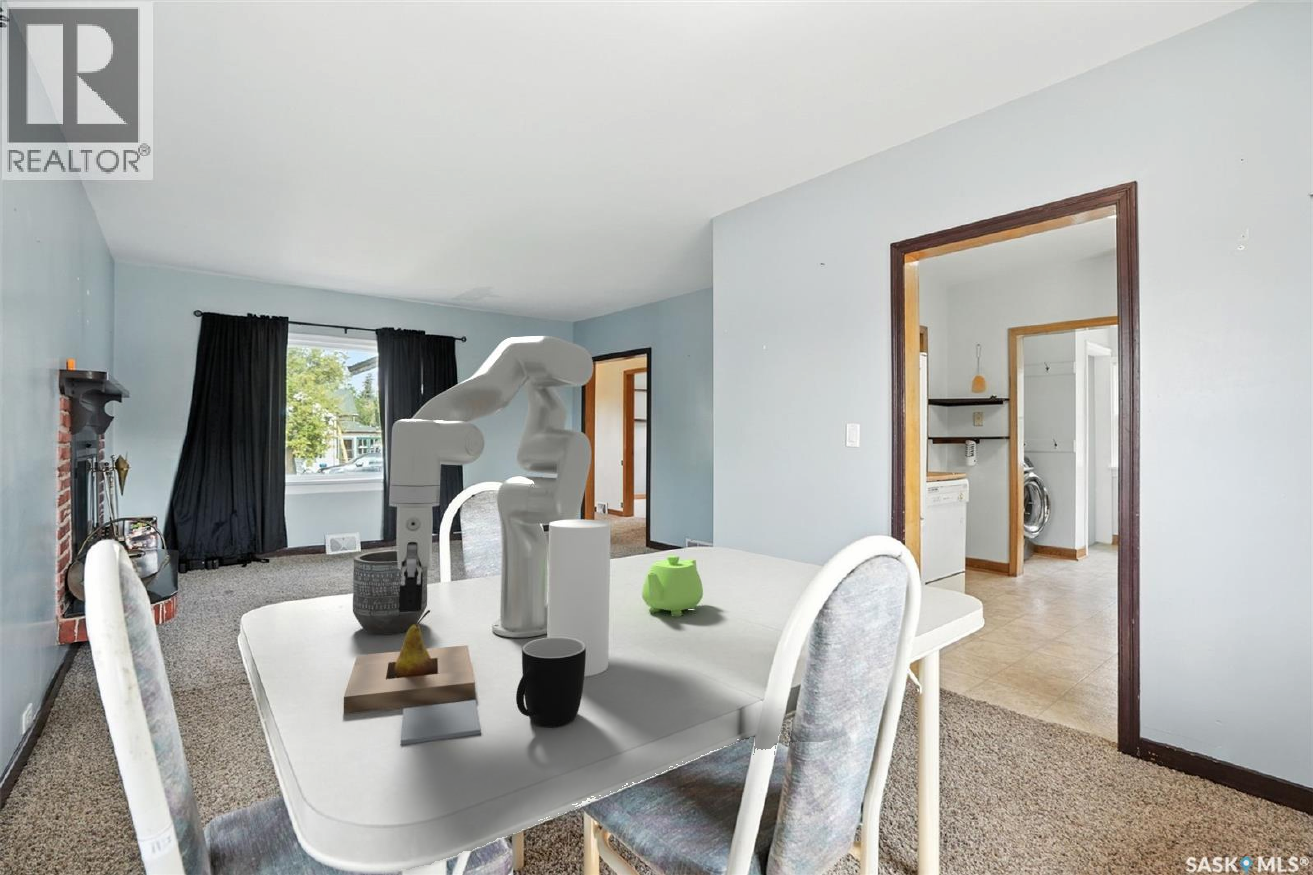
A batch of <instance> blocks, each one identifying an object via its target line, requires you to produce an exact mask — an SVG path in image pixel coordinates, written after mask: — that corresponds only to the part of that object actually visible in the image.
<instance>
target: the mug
mask: <svg viewBox="0 0 1313 875" xmlns="http://www.w3.org/2000/svg"><path fill="white" fill-rule="evenodd" d="M585 660H586V647H585V644H584V643H583V642H581V641H579V640H576V639H572V638H565V637H550V638H547V637H543V638H542V637H541V638H539V639H534V640H531V641H528V642H527V643H525V644H524V645H523V647H522V650H521V665H522V666H521V668H522V677H521V678H520V680H519V682H518V685H517V688H516V689H517V690H516V694H515V696H516V697H515V699H516V700H515V701H516V702H515V703H516V706H517V709H518V711H519V712H520V713H521V714H522V715H524V716H525V717H529V720H530V721H531V722H532V723H533V724H534V725H536V726H538V727H544V728H557V727H563V726H566V725H568V724H570V723H572V722H573V721H574V720H575V718H576V717H577V715H578V713H579V710H580V706H581V703H582V702H581V701H582V696H583V689H584V682H585V677H584V674H585Z"/></svg>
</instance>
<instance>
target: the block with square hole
mask: <svg viewBox="0 0 1313 875" xmlns="http://www.w3.org/2000/svg"><path fill="white" fill-rule="evenodd" d="M426 649H427V651H428V653H429V655H430V658H431V662H432V668H431V672H430V674H429V675H423V676H414V677H404V678H396V676H395V664H396V661H397V659H398V657H399V655H400V652H401V650H400V651H390V652H389V651H388V652H380V653H379V652H378V653H368V654H358V655H356V657H355V661H354V664H353V667H352V670H351V673H350V676H349V679H348V682H347V686H346V689H345V691H344V695H343V715H348V714H349V715H350V714H357V713H369V712H374V711H375V712H376V711H384V710H389V709H390V710H391V709H399V708H400V709H401V708H411V707H419V706H427V705H436V704H444V703H453V702H461V701H469V700H476V699H475V698H476V697H475V696H476V694H475V692H476V691H475V689H476V688H475V687H476V682H475V676H474V670H473V666H472V660H471V655H470V649H469V645H468V644H467V645H456V646H446V647H445V646H443V647H434V648H426Z"/></svg>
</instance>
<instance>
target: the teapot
mask: <svg viewBox="0 0 1313 875" xmlns="http://www.w3.org/2000/svg"><path fill="white" fill-rule="evenodd" d="M666 557H667V559H665V560H659V561H656V562H654V563H652V564H651V567H650V568H649V570H648V572H647V575H646V576H645V579H644V582H643V586H642V592H641V593H642V594H641V595H642V599H643V601H644V602H645V605H646V606H648V607H650V608H649V610H648V612H651V613H658V612H660V611H661V610H665V611H671V614H670V616H672V615H673V616H672V617H675V616H679V617H681V616H680V615H682V616H683V612H682V611H683V610H685V609H696V606H697V605H699V603H700V602H701V600H702V598H703V595H704V589H703V584H702V580H701V576H700V574H699V572H698V568H697V561H696V559H693V558H688V559H686V560H680V555H679V556H678V555H668V556H666Z"/></svg>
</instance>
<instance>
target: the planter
mask: <svg viewBox="0 0 1313 875" xmlns="http://www.w3.org/2000/svg"><path fill="white" fill-rule="evenodd" d="M421 566H422V564H421ZM421 572H423V579H422V606H421V610H420V611H413V612H400V611H399V592H400V585H401V581H402V571H401V570H399V569H398V562H397V549H387V550H377V551H369V552H363V553H360V554H358V555H355V556H354V558H353V576H352V580H353V581H352V588H353V590H352V591H353V593H352V612H353V615H354V616H355V619H356V620H357V622H358V623H359V625H360V626H361V628H362V629H363V630H364V631H365V632H366V633H367V634H370V635H371V634H372V635H384V636H385V635H394V634H400V633H403V632H404V633H406V632H408V629H409V628H410V627H411V626H412V625H413V624H417V623H418V622H419V621H420V619H421V618H422V617H423V615H424V614H425V613H424V612H426V611H425V610H426V608H427V607H428V572H429V570H427V567H422V568H421Z"/></svg>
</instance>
